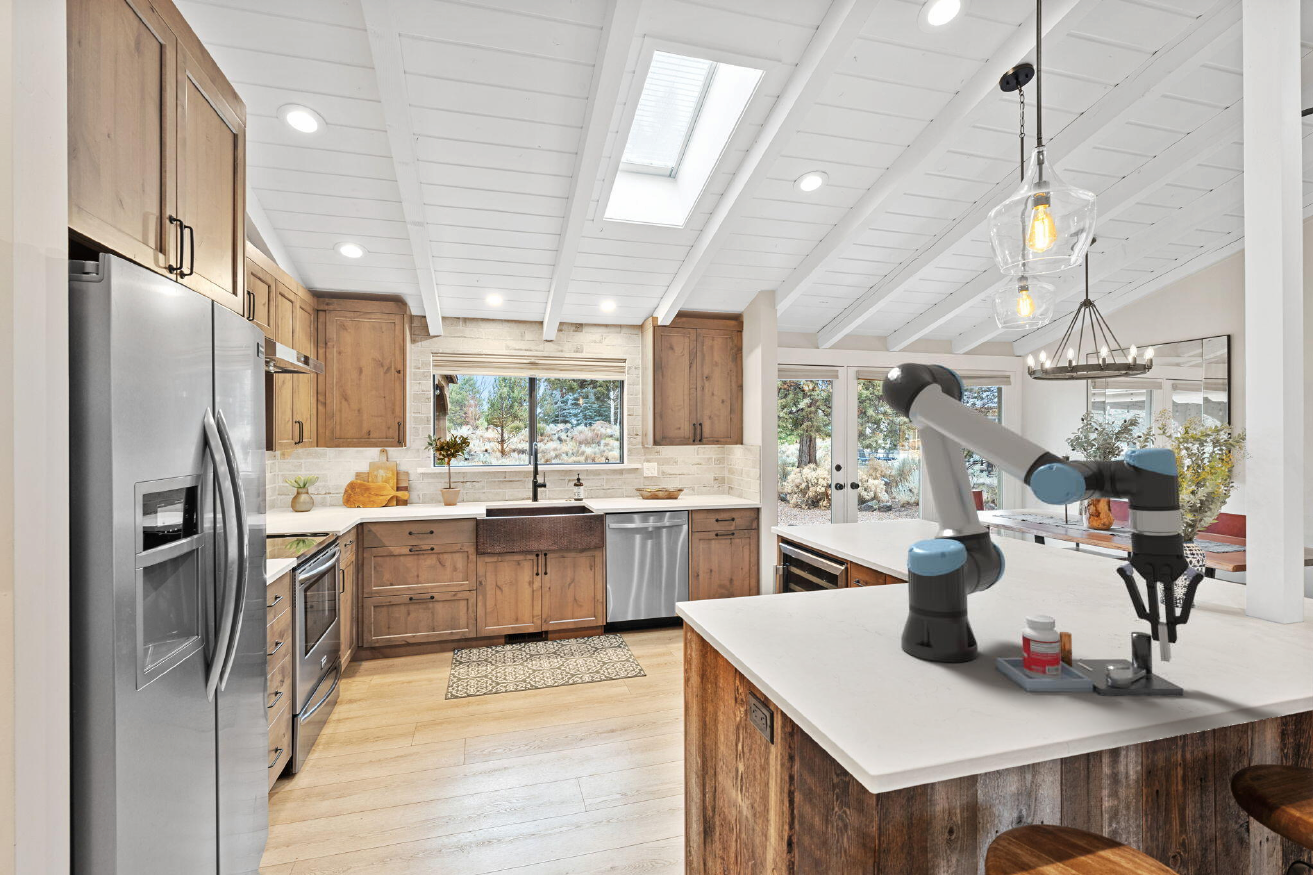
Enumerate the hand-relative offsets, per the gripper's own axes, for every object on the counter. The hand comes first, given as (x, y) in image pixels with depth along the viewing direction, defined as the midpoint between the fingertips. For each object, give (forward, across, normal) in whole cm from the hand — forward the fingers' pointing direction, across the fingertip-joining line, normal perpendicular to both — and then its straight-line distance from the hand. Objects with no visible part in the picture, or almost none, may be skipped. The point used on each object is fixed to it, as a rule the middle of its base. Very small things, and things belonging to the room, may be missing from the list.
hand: (1165, 659), depth 114 cm
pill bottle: (+3, +17, +13) cm, 22 cm away
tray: (+4, +17, +13) cm, 22 cm away
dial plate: (+4, +7, +4) cm, 9 cm away
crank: (+3, +5, +6) cm, 8 cm away
